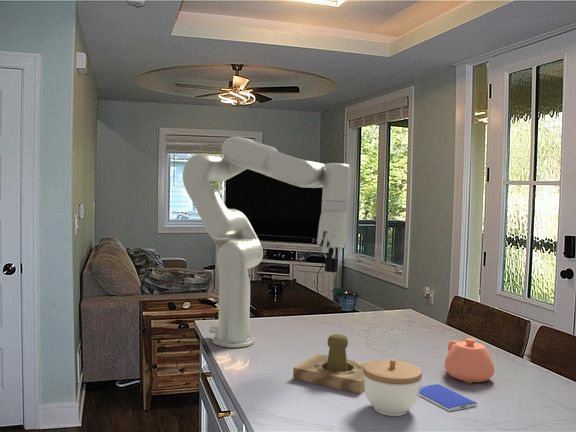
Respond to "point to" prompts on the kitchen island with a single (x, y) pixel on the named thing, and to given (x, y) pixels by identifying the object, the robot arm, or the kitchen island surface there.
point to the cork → (337, 353)
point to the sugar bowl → (469, 361)
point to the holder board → (331, 374)
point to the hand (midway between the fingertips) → (331, 271)
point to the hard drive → (445, 397)
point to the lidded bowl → (392, 386)
